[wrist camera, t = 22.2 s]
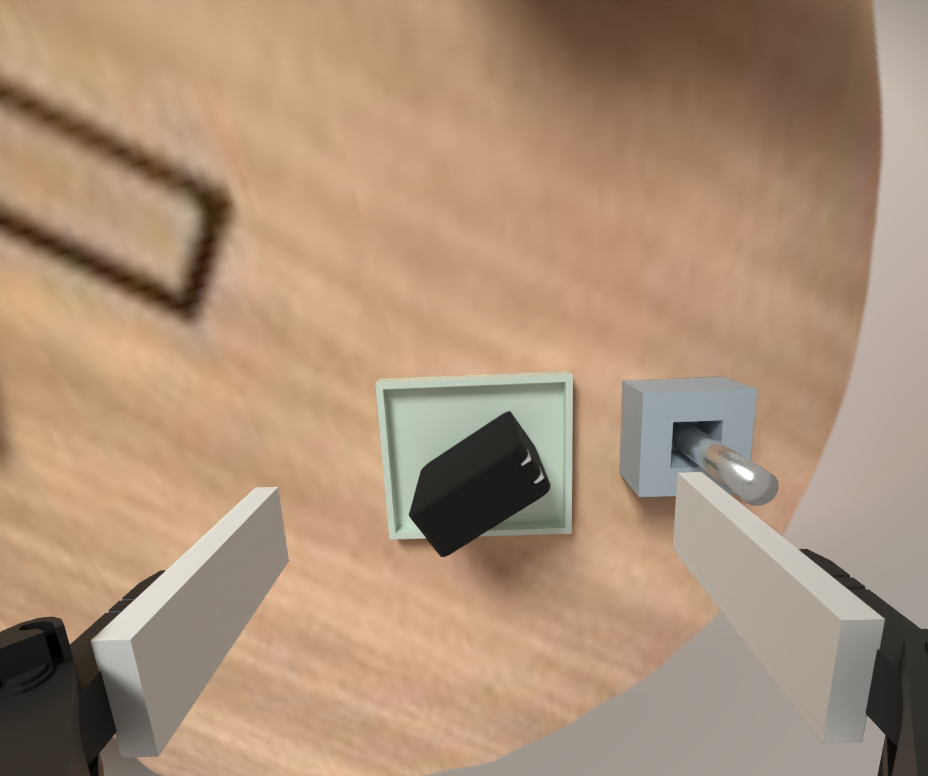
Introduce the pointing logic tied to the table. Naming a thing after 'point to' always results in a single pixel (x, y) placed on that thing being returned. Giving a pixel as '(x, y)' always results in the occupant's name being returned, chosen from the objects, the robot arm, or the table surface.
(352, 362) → the table surface
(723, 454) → the cylinder
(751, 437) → the square hole cube
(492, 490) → the electronic device
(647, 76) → the table surface
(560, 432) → the tray
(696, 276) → the table surface
